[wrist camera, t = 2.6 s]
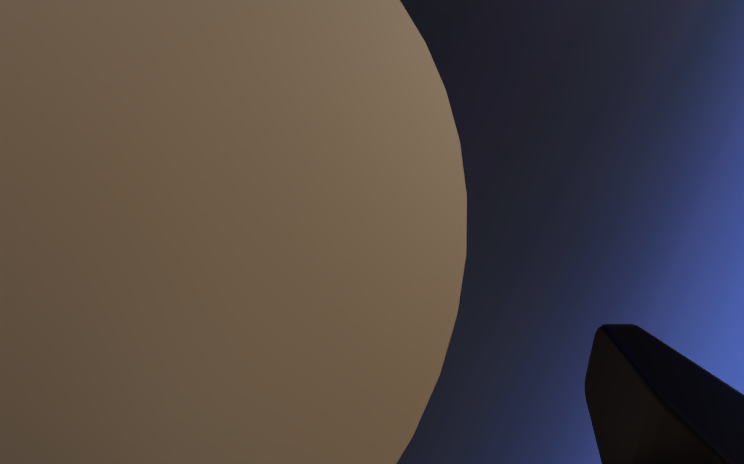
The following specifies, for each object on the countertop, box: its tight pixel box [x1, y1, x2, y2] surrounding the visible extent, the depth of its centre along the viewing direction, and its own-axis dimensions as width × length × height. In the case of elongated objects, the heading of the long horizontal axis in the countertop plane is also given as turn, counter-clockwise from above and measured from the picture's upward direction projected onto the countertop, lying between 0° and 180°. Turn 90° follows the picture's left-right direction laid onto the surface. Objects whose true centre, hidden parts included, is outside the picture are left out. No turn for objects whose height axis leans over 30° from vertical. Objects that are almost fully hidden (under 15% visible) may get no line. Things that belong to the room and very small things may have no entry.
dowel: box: [0, 0, 467, 464], centre depth 9 cm, size 4×4×13 cm
